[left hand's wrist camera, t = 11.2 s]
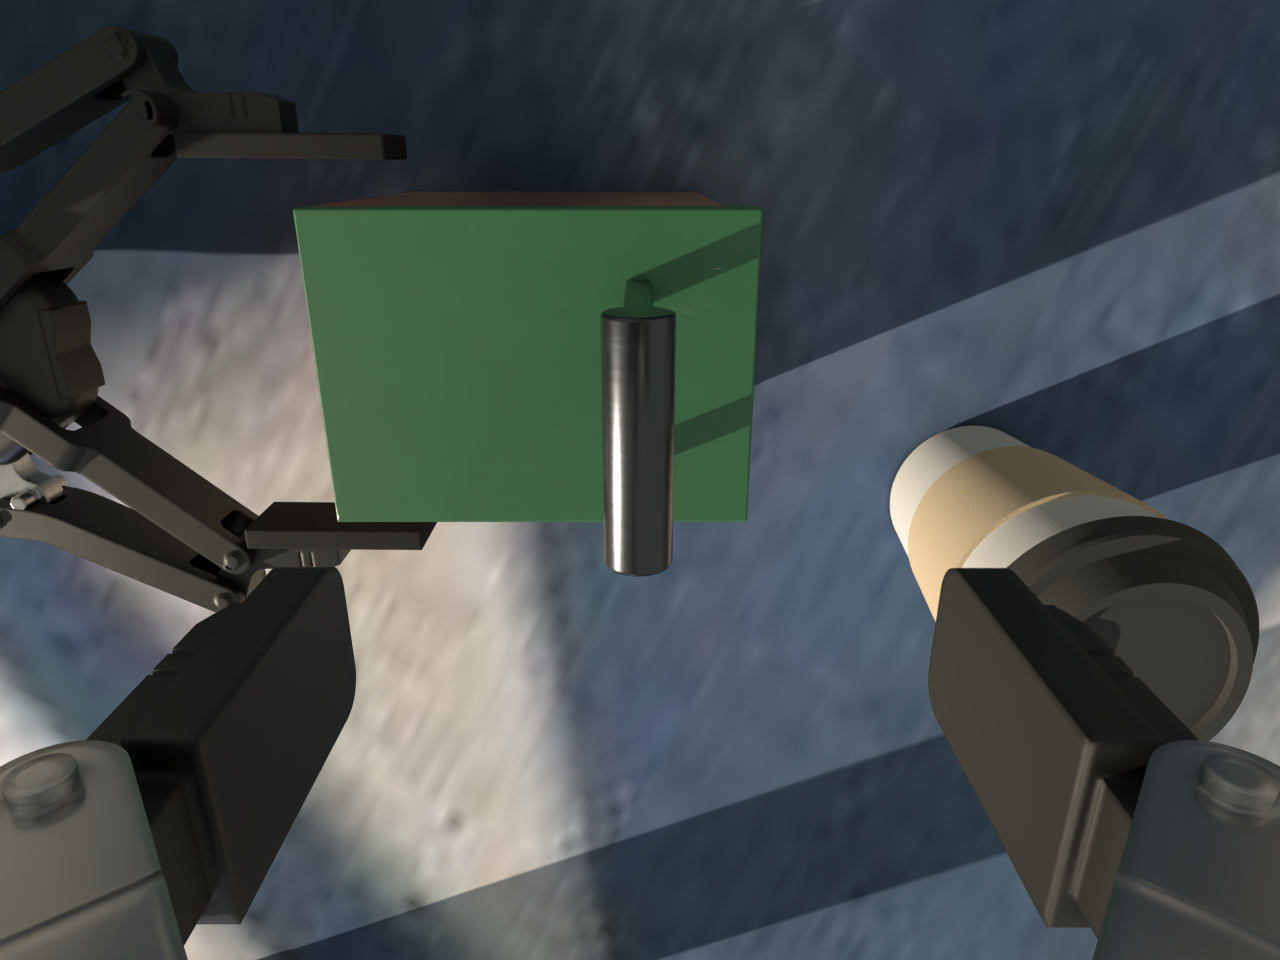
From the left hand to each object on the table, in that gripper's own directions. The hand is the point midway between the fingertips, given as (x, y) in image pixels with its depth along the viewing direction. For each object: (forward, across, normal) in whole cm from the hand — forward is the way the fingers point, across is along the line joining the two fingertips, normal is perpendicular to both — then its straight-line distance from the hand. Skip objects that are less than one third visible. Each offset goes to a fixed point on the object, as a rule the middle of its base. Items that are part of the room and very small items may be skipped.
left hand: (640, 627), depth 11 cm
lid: (+15, +3, 0) cm, 15 cm away
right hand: (+20, +8, +1) cm, 21 cm away
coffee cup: (+26, -15, +9) cm, 31 cm away
